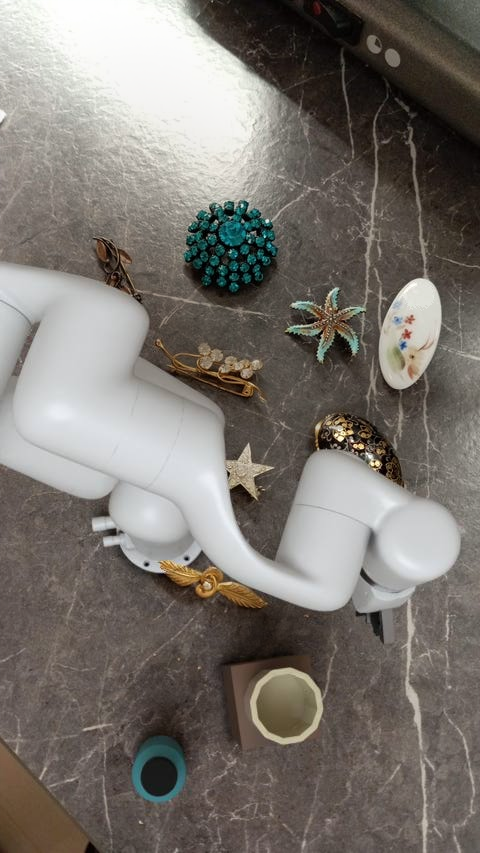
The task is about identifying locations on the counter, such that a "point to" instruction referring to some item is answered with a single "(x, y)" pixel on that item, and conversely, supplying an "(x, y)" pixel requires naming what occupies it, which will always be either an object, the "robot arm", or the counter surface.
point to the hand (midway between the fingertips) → (360, 570)
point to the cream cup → (283, 704)
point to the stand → (235, 690)
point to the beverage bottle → (159, 769)
